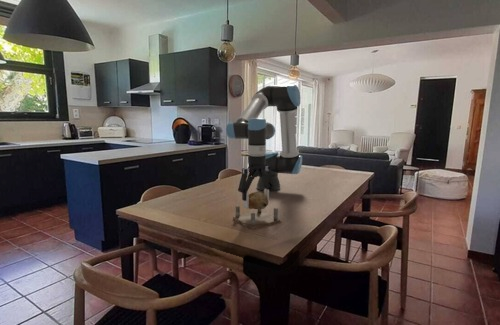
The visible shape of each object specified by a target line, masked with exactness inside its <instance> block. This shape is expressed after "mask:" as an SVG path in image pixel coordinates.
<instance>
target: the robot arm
mask: <svg viewBox="0 0 500 325" xmlns="http://www.w3.org/2000/svg"><path fill="white" fill-rule="evenodd" d="M300 105H301V92H300V89H299V87H298V86H297V85H296V84H290V83H288V84H287V83H286V84H275V85H274V84H272V85H271V84H269V85H266V86H264V87H262V88H261V89H259V90H257V92H256V93H254V95H253V96H252V97H251V101H250V103H249V104H248V105H247V107H246V108H245V109H244V110H243V112H242V113H241V114H240V116H239V117H238V118H237V120H236V121H235V122H234V121H232V122H228V123H227V125H226V128H225V133H226V136H227V137H228V138H229V139H235V140H238V139H239V140H240V139H241V140H243V139H244V140H245V139H247V154H248V156H247V164H248V167H246V168H242V169H241V176H240V181H239V185H238V188H237V191H238V192H240V193H241V199H242V201H244V202H243V208H245V209H247V210H248V209H249V194H250V193H248V191H249V189H250V187H251V185H252V182H253V181H254V180H255V178H257V177H259V178H258V181H257V184H256V189H257V190H260V191H263V195H265V196H266V198H267V199H268V205H270V196H271V192H274V191H279V190H280V189H281V184H280V179H279V176H278V174H284V175H285V174H287V175H298V174H300V172H301V169H302V166H303V165H302V164H303V155H300V152H299V150H297V133H296V132H297V130H296V129H297V128H296V112H297V110H298V107H299V106H300ZM268 107H276V111H277V112H278V114H279V120H280V121H279V122H280V123H279V124H280V138H281V151H280V153H279V152H278V151H271V152H270V151H269V152H267V148H266V147H267V140H270V139H272V138H273V137H274V135H276V128H275V126H274V124H273V123H270V122H267V121H266V118H259V116H260V115H261V113H262V112H263V110H266V109H267V108H268Z"/></svg>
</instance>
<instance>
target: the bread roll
mask: <svg viewBox="0 0 500 325" xmlns="http://www.w3.org/2000/svg"><path fill="white" fill-rule="evenodd" d="M242 201H243V203H244V200H242ZM268 205H269V204H268V199H267V198H266V196H265V195H264V192H263V193H262V192H259V191H258V192H257V191H254V192H251V193H249V208H248V209H249V210H252V209H253V210H258V209H261V210H264V209H266V207H268Z"/></svg>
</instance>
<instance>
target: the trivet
mask: <svg viewBox="0 0 500 325" xmlns="http://www.w3.org/2000/svg"><path fill="white" fill-rule="evenodd" d="M240 211H241V206H240V205H235V215H234V216H233V217H232V219H233V220H234V221H235V222H237V223H239V224H241V225H242V226H244V227H246V228H248V229H249V230H251V231H255V230H259V229H261V228H267V227H269V226H273V225H276V224H280V223H281V219H279V208H278V207H274V208H273V215H270V214H268V213H266V212H265V211H262V209H257V211H256V210H255V211H253V212H248V213H243V214H240V213H241V212H240Z"/></svg>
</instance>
